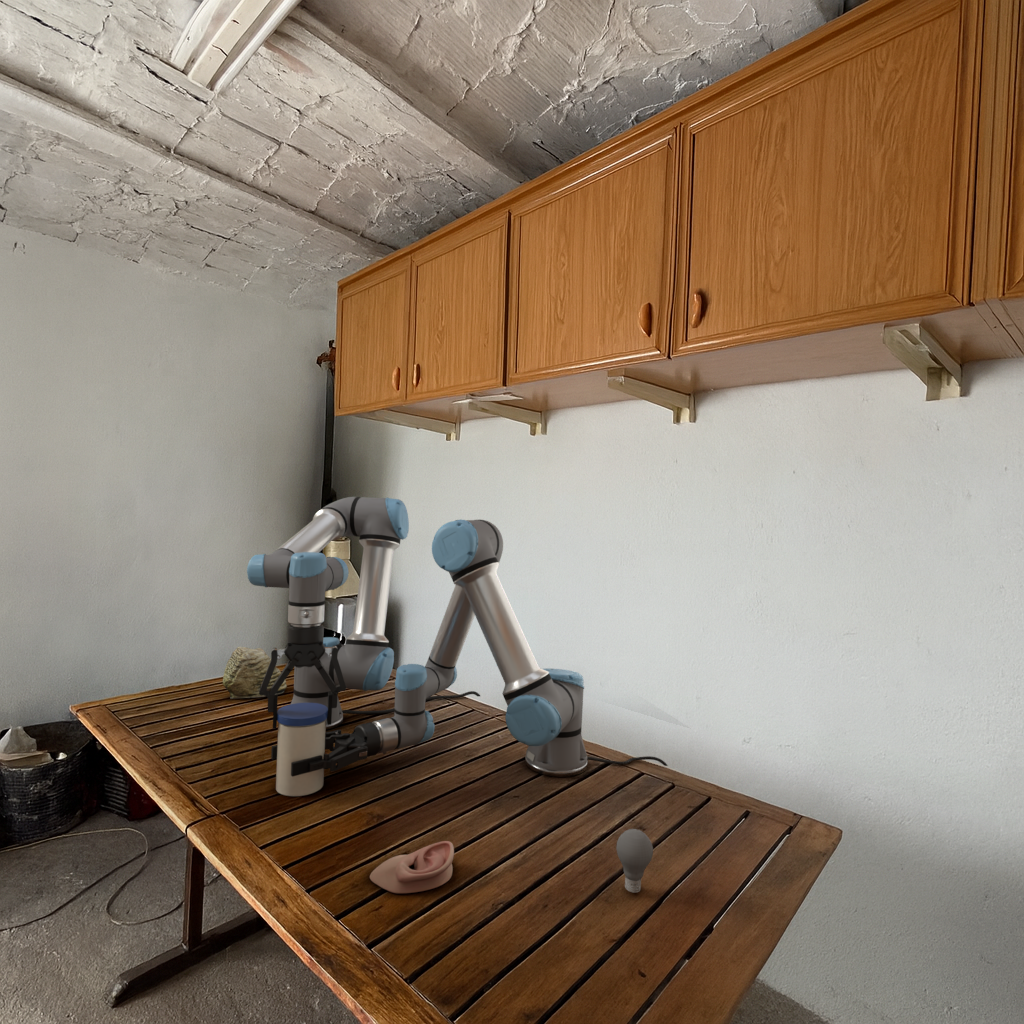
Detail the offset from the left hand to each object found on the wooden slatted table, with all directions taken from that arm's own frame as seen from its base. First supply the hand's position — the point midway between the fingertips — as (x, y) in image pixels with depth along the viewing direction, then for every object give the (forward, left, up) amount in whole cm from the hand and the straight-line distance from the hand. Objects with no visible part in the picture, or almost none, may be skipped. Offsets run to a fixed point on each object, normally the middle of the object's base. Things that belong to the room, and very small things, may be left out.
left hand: (302, 724), depth 138 cm
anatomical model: (+6, +42, -13) cm, 45 cm away
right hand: (+4, -1, -7) cm, 8 cm away
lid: (0, 0, +3) cm, 3 cm away
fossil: (-25, -64, -13) cm, 70 cm away
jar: (0, 0, -13) cm, 13 cm away
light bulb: (-16, +72, -13) cm, 75 cm away
